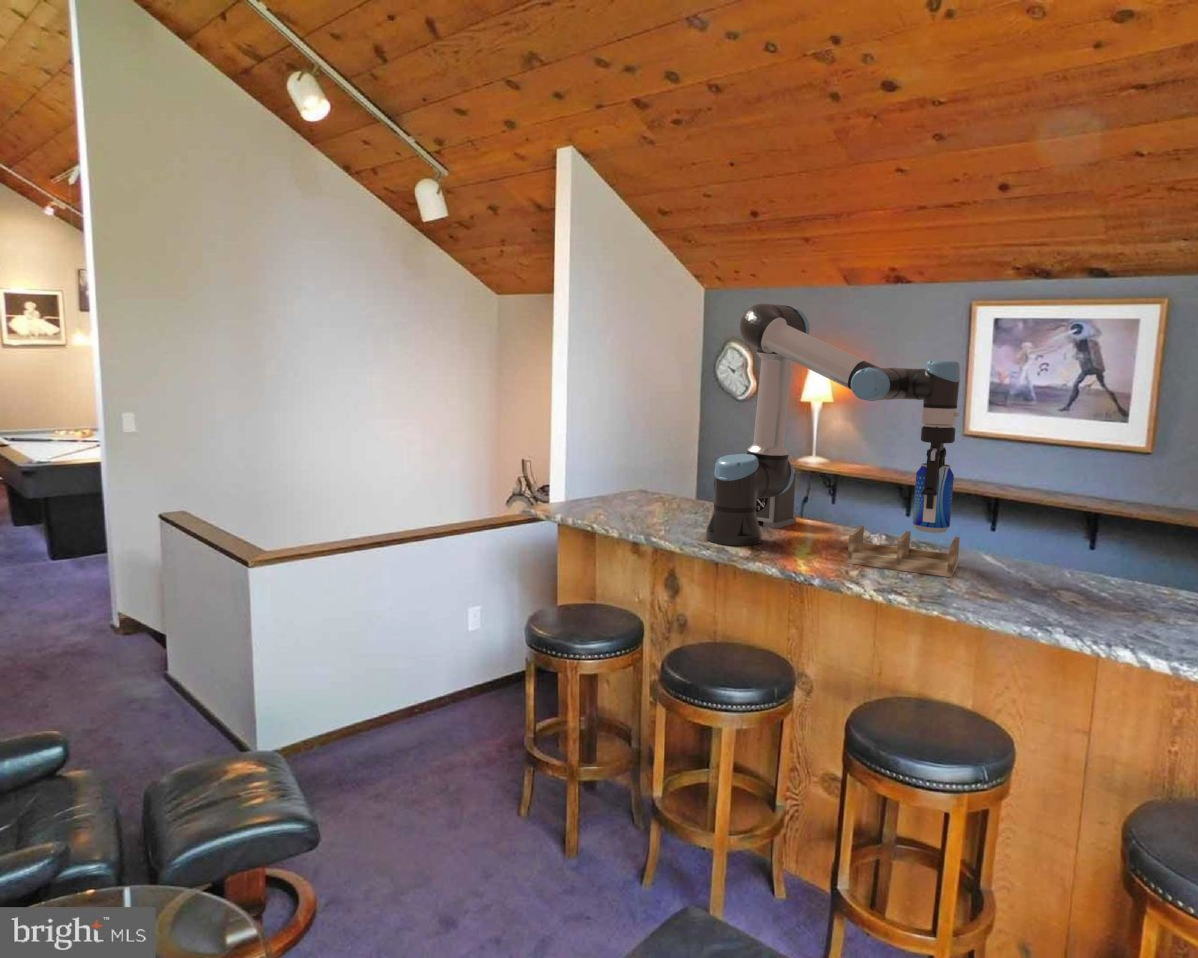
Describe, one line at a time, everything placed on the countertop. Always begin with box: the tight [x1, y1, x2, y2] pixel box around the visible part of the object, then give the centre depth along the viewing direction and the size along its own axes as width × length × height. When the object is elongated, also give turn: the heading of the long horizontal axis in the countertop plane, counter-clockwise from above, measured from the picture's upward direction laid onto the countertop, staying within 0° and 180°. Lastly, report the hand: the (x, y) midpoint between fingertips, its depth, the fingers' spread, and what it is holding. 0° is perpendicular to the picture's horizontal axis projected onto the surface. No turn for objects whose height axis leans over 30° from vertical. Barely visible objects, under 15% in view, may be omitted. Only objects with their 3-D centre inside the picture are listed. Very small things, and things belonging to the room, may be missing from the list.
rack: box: [846, 525, 961, 578], centre depth 199 cm, size 24×13×7 cm, turn 61°
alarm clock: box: [756, 468, 797, 529], centre depth 248 cm, size 18×13×18 cm
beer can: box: [912, 462, 955, 534], centre depth 194 cm, size 8×8×16 cm
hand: (931, 518), depth 195 cm, fingers closed on beer can, 8 cm apart
